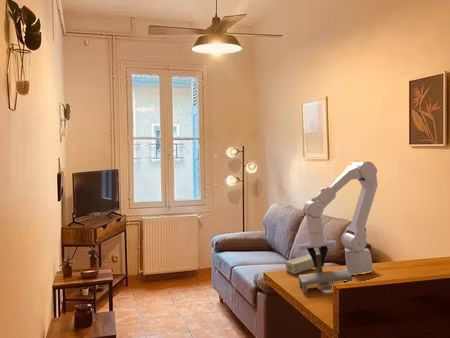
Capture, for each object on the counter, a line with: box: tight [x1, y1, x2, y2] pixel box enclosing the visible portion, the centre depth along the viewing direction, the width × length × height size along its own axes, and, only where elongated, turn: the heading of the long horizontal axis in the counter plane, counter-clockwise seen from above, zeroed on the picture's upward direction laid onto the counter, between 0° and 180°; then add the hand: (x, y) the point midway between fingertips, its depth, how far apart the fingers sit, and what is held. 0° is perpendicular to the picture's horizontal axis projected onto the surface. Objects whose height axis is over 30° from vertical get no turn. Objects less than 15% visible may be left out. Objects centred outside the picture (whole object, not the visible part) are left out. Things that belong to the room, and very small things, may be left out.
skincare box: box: [284, 254, 316, 275], centre depth 182 cm, size 6×4×12 cm
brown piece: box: [315, 251, 335, 290], centre depth 164 cm, size 6×12×10 cm, turn 0°
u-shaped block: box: [298, 268, 353, 294], centre depth 160 cm, size 18×8×4 cm, turn 90°
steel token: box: [320, 286, 333, 295], centre depth 155 cm, size 5×5×1 cm
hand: (319, 266), depth 168 cm, fingers closed on brown piece
